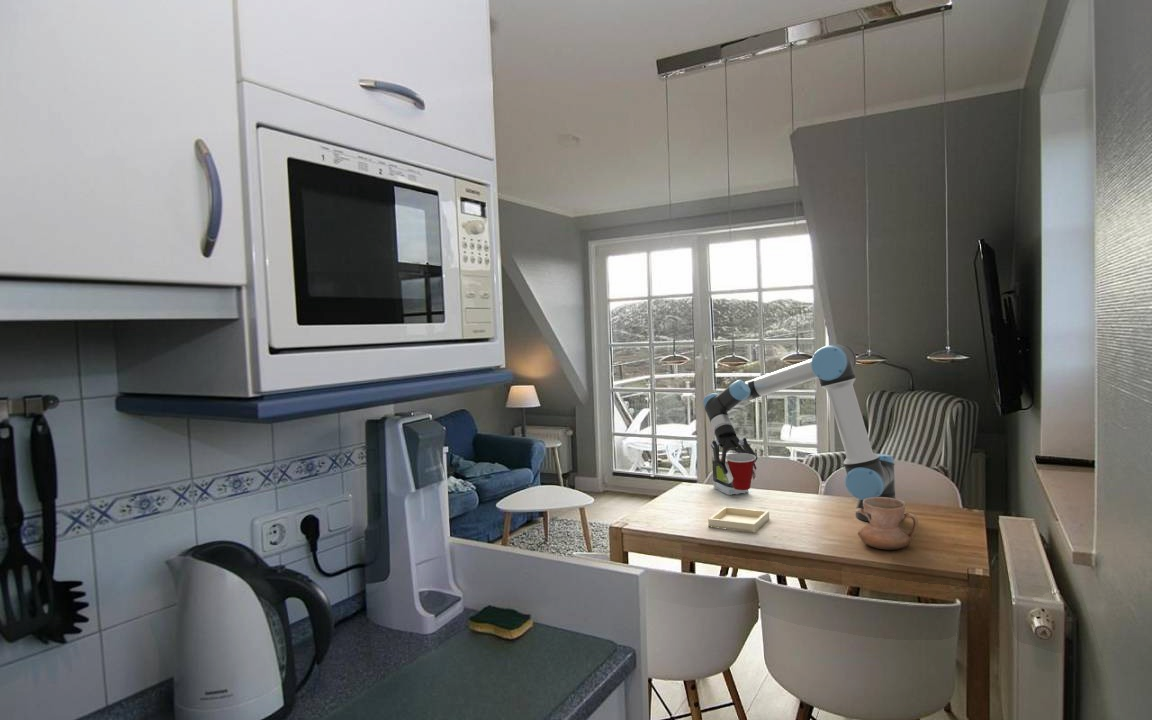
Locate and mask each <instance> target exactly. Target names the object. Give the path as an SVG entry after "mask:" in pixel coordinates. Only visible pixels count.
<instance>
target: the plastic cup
mask: <svg viewBox="0 0 1152 720" xmlns="http://www.w3.org/2000/svg"><path fill="white" fill-rule="evenodd" d="M726 455H727V456H726V459H727V462H728V465H729V469H730V471H731V474H732V476H733V480H732V482H733V487H734V489H736V490H748V491H749V490H750V489H751V484H752V479H753V477H752V472H753V465H754V461H755V459H756V456H757V455H756V454H755V455H756V456H755V455H752V454H748V453H738V452H734V453H729V454H726Z"/></svg>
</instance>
